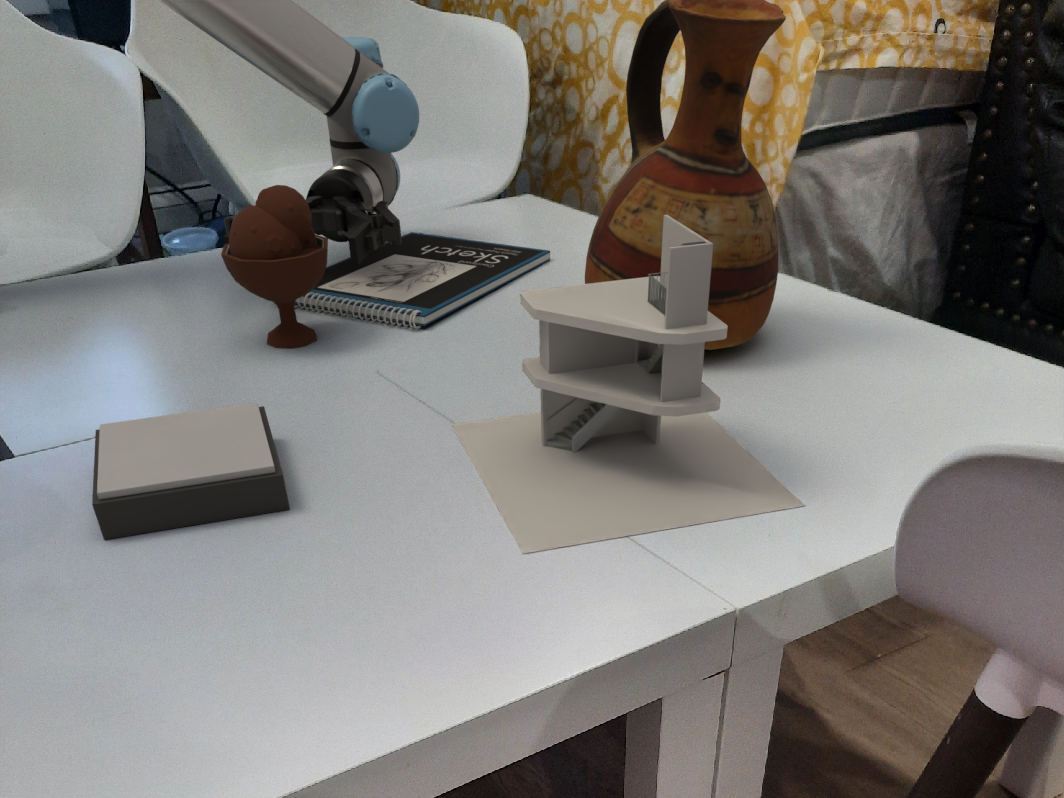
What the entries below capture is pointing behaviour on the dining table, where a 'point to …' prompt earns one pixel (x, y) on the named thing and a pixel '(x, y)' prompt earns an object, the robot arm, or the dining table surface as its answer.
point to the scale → (185, 470)
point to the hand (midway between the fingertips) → (291, 251)
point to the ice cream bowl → (278, 257)
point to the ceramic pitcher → (696, 162)
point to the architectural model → (621, 414)
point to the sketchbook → (419, 278)
